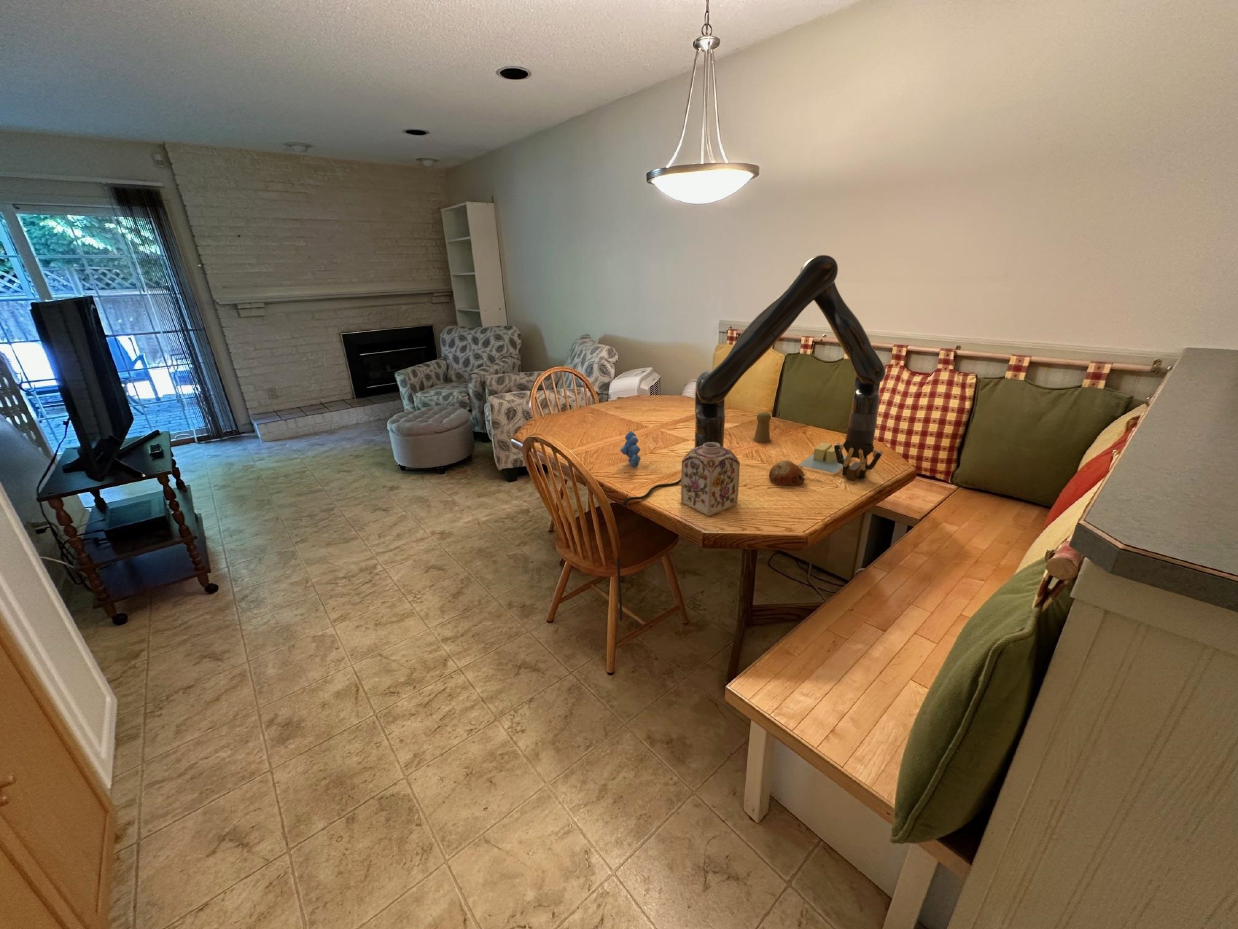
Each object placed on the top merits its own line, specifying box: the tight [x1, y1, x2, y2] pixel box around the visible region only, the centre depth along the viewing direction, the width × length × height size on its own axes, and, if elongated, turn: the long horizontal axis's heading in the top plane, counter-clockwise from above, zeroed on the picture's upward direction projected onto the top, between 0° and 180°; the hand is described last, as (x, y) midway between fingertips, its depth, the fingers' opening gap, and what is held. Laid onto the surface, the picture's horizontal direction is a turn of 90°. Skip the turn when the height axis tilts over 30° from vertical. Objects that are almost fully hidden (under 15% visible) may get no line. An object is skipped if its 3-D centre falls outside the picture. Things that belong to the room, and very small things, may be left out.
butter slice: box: [826, 444, 836, 463], centre depth 162 cm, size 8×2×4 cm, turn 140°
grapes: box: [620, 430, 642, 469], centre depth 164 cm, size 12×7×12 cm, turn 14°
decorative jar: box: [680, 442, 741, 517], centre depth 133 cm, size 12×12×18 cm
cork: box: [753, 411, 772, 444], centre depth 185 cm, size 6×6×11 cm
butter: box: [813, 442, 833, 461], centre depth 164 cm, size 8×3×4 cm, turn 140°
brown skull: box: [768, 460, 806, 487], centre depth 149 cm, size 10×10×8 cm
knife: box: [845, 460, 861, 482], centre depth 152 cm, size 17×2×4 cm, turn 140°
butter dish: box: [798, 453, 847, 474], centre depth 162 cm, size 18×12×1 cm, turn 140°
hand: (853, 478), depth 149 cm, fingers open, 3 cm apart
